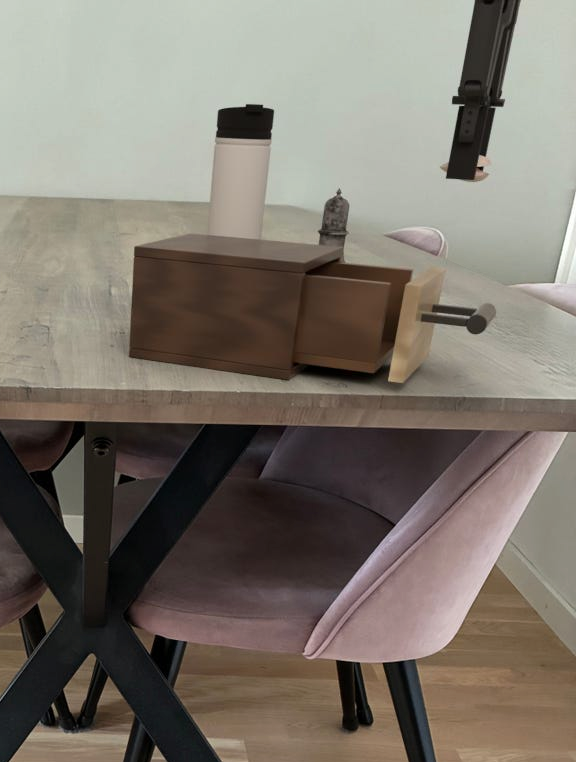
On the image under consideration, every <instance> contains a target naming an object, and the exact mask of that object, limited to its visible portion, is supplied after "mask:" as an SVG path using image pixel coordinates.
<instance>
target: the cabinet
mask: <svg viewBox="0 0 576 762" xmlns="http://www.w3.org/2000/svg"><path fill="white" fill-rule="evenodd" d="M343 249H344V250H345V247H344V248H343V247H336V246H325V245H319V244H313V243H303V242H291V241H290V242H289V241H279V240H269V239H261V240H258V239H247V238H236V237H225V236H214V235H207V234H201V233H191V232H190V233H185V234H182V235H178V236H173V237H168V238H165V239H160V240H156V241H151V242H147V243H144V244H138V245H135V246H134V248H133V264H132V265H133V267H132V268H133V269H132V286H131V288H132V289H131V304H130V305H131V307H130V308H131V309H130V324H129V325H130V328H129V344H128V345H129V347H128V349H129V350H128V357H129V358H133V359H141V360H149V361H156V362H162V363H169V364H177V365H184V366H190V367H195V368H201V369H203V368H204V369H210V370H216V371H217V370H218V371H222V372H223V371H224V372H230V373H237V374H243V375H244V374H245V375H252V376H256V377H257V376H258V377H264V378H272V379H279V380H286V381H290V380H291V379H293V378H294V377H295V376H296V375H298V374H299V373H301V372H302V371H304V370H305V369H306V368H308V367H309V366H311V365H310V364H303V363H295V362H294V355H295V348H296V340H297V333H298V325H299V317H300V310H301V302H302V295H303V287H304V280H305V273H304V272H307V271H309V270H311V269H314V268H316V267H319V266H321V265H323V264H326V263H328V262H330V261H332V262H342V255H343Z"/></svg>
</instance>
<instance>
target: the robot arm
mask: <svg viewBox="0 0 576 762" xmlns="http://www.w3.org/2000/svg"><path fill="white" fill-rule="evenodd" d="M521 2H522V0H474V3H473V10H472V13H471V19H470V25H469V31H468V37H467V41H466V42H467V43H466V47H465V53H464V59H463V64H462V68H461V69H462V70H461V75H460V81H459V86H458V87H457V95H452V98H451V105H454V106H455V105H457V106H458V110H457V116H456V120H455V126H454V132H453V137H452V142H451V148H450V153H449V158H448V162H449V163H448V169H447V172H446V175H445V180H460V179H461V180H460V181H463V180H474V179H475V174H476V169H477V168H478V169H480V170H481V171H483V172H484V169H485V166H481V167H477V164H478V159H479V155H481V156H484V157H486V158H487V153H488V149H489V144H490V139H491V133H492V129H493V123H494V118H495V115H496V114H495V113H496V109H497V108H503V107H505V106H504V105H505V102H506V98H501V97H502V95H503V86H504V82H505V76H506V72H507V67H508V61H509V57H510V51H511V47H512V42H513V37H514V32H515V27H516V24H517V22H518V16H519V10H520V6H521Z"/></svg>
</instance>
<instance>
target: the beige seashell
mask: <svg viewBox="0 0 576 762" xmlns="http://www.w3.org/2000/svg"><path fill="white" fill-rule="evenodd" d="M448 163H449V161H448V162H445V163H443V164H442V165H440V166H439V168H440V170H442V171H444V172H445V173H447V169H448ZM481 166H484V167H488V166H492V163H491V160H490V159H489V157H487V156H486V157H484V156H481V155H479V159H478V164H477V167H481ZM488 176H490V173H488V172H484V170H483V171H481V170H480V169H478V168H477V169H476V174H475V179H474V180H461V179H459V180H460V181H462V182H467V183H477V182H481V181H484V180H485V179H486V178H488Z"/></svg>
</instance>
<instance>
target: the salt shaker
mask: <svg viewBox="0 0 576 762" xmlns="http://www.w3.org/2000/svg"><path fill="white" fill-rule="evenodd" d="M335 193H336V195H334V196H333V197H331V198H329V199H327V200H326V201H325V203H324V207H323V214H322V221H321V228H320V229H318V230H317V233H318V234H319V240H318V245H325V246H336V247H343V248H344V249H343V255H342V262H343V263H347V261H345V244H346V238H347V236H348V235H350V232H349V231H348V230H347V225H348V218H349V212H350V203H349V201H348V200H347V199H346V198H344V197H343V196H342V195H341V194H342V190H341V188H338V189H337V190H336V191H335Z"/></svg>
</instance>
